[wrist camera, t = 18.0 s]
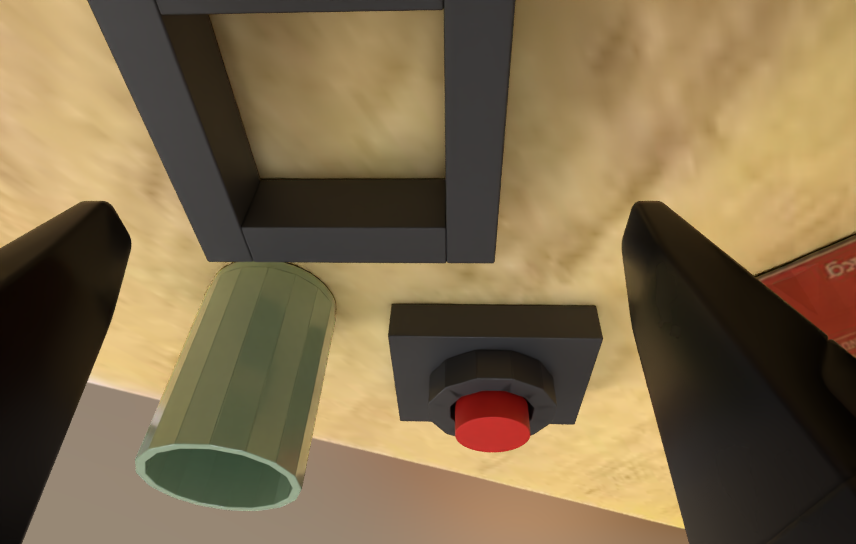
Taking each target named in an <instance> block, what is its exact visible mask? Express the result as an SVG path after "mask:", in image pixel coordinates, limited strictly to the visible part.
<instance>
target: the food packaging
mask: <svg viewBox="0 0 856 544" xmlns="http://www.w3.org/2000/svg"><path fill="white" fill-rule="evenodd" d="M756 278H757V279H758V280H760V281H761V282H762V283H763V284H765V285H766V286H767V287H768V288H770V289H771V290H772V291H773V292H775V293H776V294H777V295H778V296H779V297H781V298H782V299H783V300H784V301H786V302H787V303H788V304H789V305H791V306H792V307H793V308H794V309H796V310H797V311H798V312H799V313H801V314H802V315H803V316H804V317H806V318H807V319H808V320H809V321H811V322H812V323H813V324H814V325H815V326H817V327H818V328H819V329H820V330H822V331H823V332H824V333H825V334H827V335H828V340H829V339H833V340H834V341H836V342H837V343H838V344H839V345H841V346H842V347H843V348H844V349H846V350H847V351H848V352H849V353H851V354H852V355H853V356H854V357H856V235H854V236H852V237H850V238H847V239H845V240H843V241H840V242H838V243H836V244H833V245H831V246H828V247H826V248H824V249H821V250H819V251H816V252H814V253H811V254H809V255H807V256H805V257H803V258H800V259H798V260H796V261H794V262H792V263H790V264H788V265H785V266H783V267H780V268H778V269H775V270H773V271H770V272H767V273H765V274H762V275H760V276H757V277H756Z"/></svg>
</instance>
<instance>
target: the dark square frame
mask: <svg viewBox="0 0 856 544" xmlns="http://www.w3.org/2000/svg"><path fill="white" fill-rule="evenodd" d="M87 1H88V3H89V5H90V7H91V9H92V11H93V14H94V16H95V18H96V20H97V22H98V24H99V27H100V29H101V31H102V33H103V35H104V37H105V40H106V42H107V44H108V46H109V48H110V50H111V52H112V55H113V57H114V59H115V61H116V63H117V65H118V68H119V70H120V72H121V74H122V76H123V78H124V81H125V83H126V85H127V87H128V89H129V91H130V94H131V96H132V98H133V100H134V102H135V104H136V107H137V109H138V111H139V113H140V115H141V117H142V120H143V122H144V124H145V126H146V128H147V130H148V133H149V135H150V137H151V139H152V141H153V143H154V146H155V148H156V150H157V152H158V154H159V156H160V158H161V161H162V163H163V165H164V167H165V169H166V171H167V174H168V176H169V178H170V180H171V182H172V184H173V187H174V189H175V191H176V193H177V195H178V197H179V200H180V202H181V204H182V206H183V208H184V210H185V213H186V215H187V217H188V219H189V221H190V223H191V226H192V228H193V230H194V232H195V234H196V236H197V239H198V241H199V243H200V245H201V247H202V249H203V251H204V254H205V256H206V258H207V260H208V261H209V262H253V261H254V262H329V263H446V261H447V263H494V262H495V251H496V239H497V226H498V214H499V201H500V189H501V176H502V164H503V151H504V138H505V126H506V113H507V101H508V88H509V76H510V63H511V51H512V38H513V26H514V13H515V1H516V0H87ZM443 8H444V76H445V166H446V179H305V180H261V181H260V178H259V175H258V172H257V169H256V166H255V162H254V159H253V156H252V153H251V150H250V147H249V143H248V140H247V137H246V134H245V131H244V128H243V124H242V121H241V118H240V115H239V112H238V109H237V105H236V102H235V99H234V96H233V93H232V90H231V86H230V83H229V80H228V77H227V74H226V70H225V67H224V64H223V61H222V58H221V55H220V51H219V48H218V45H217V42H216V39H215V36H214V32H213V29H212V26H211V23H210V20H209V17H208V14H243V13H299V12H354V11H410V10H442V9H443Z"/></svg>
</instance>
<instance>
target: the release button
mask: <svg viewBox="0 0 856 544" xmlns="http://www.w3.org/2000/svg"><path fill="white" fill-rule="evenodd" d="M455 437H456V439H457V441H458V442H459V443H460V444H462V445H463V446H465V447H467V448H469V449H472V450H476V451H481V452H504V451H509V450H513V449H516V448H518V447H520V446H522V445H524V444H525V443H526V442H527V441H528V440H529V438H530V424H529V413H528V404H527V402H526V400H525V399H524V398H523V397H521V396H518V395H515V394H512V393H509V392H507V391H480V392H476V393H473V394H469V395H466V396H462V397H460V398H459V399H458V400H457V402H456V404H455Z"/></svg>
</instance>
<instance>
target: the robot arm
mask: <svg viewBox="0 0 856 544" xmlns="http://www.w3.org/2000/svg"><path fill="white" fill-rule="evenodd" d="M130 251H131V239H130V235H129V233H128V232H127V230H126V228H125V226H124V225H123V223H122V221H121V220H120V218H119V216H118V214H117V213H116V211H115V209H114V208H113V206H112V205H111V204H109V203H108V202H105V201H83V202H80V203H78V204H77V205H75V206H73V207H71V208H70V209H68V210H66V211H64V212H63V213H61V214H59V215H57V216H56V217H54V218H52V219H50V220H49V221H47V222H45V223H43V224H42V225H40V226H38V227H37V228H35V229H33V230H31V231H30V232H28V233H26V234H24V235H23V236H21V237H19V238H17V239H16V240H14V241H12V242H10V243H9V244H7V245H5V246H3V247H2V248H0V544H22V542H23V539H24V537H25V534H26V532H27V530H28V527H29V525H30V522H31V519H32V517H33V515H34V512H35V509H36V507H37V504H38V502H39V500H40V497H41V495H42V492H43V490H44V487H45V485H46V482H47V480H48V477H49V475H50V472H51V470H52V467H53V465H54V463H55V460H56V457H57V455H58V453H59V450H60V447H61V445H62V443H63V440H64V438H65V435H66V433H67V430H68V428H69V425H70V423H71V420H72V418H73V415H74V413H75V410H76V408H77V405H78V403H79V400H80V398H81V395H82V393H83V390H84V388H85V386H86V383H87V381H88V378H89V376H90V373H91V371H92V368H93V366H94V363H95V361H96V358H97V356H98V353H99V351H100V348H101V346H102V343H103V341H104V338H105V336H106V333H107V331H108V328H109V325H110V323H111V320H112V316H113V313H114V310H115V306H116V303H117V299H118V295H119V292H120V288H121V284H122V281H123V277H124V273H125V269H126V266H127V262H128V258H129V255H130ZM622 256H623V264H624V271H625V279H626V287H627V294H628V302H629V310H630V317H631V323H632V329H633V333H634V337H635V341H636V345H637V349H638V353H639V356H640V360H641V364H642V368H643V372H644V375H645V379H646V383H647V387H648V390H649V394H650V398H651V402H652V405H653V409H654V413H655V417H656V420H657V424H658V428H659V432H660V436H661V439H662V443H663V447H664V451H665V454H666V458H667V462H668V466H669V469H670V473H671V477H672V481H673V485H674V488H675V492H676V496H677V500H678V503H679V507H680V511H681V515H682V518H683V522H684V526H685V530H686V533H687V537H688V541H689V544H856V357H854V356H853V355H852V354H851V353H849V352H848V351H847V350H846V349H844V348H843V347H842V346H841V345H839V344H838V343H837V342H836V341H834V340H833V339H829V340H828V335H827V334H825V333H824V332H823V331H822V330H820V329H819V328H818V327H817V326H815V325H814V324H813V323H812V322H811V321H809V320H808V319H807V318H806V317H804V316H803V315H802V314H801V313H799V312H798V311H797V310H796V309H794V308H793V307H792V306H791V305H789V304H788V303H787V302H786V301H784V300H783V299H782V298H781V297H779V296H778V295H777V294H776V293H775V292H773V291H772V290H771V289H770V288H768V287H767V286H766V285H765V284H763V283H762V282H761V281H760V280H758V279H757V278H756V277H755V276H753V275H752V274H751V273H750V272H748V271H747V270H746V269H745V268H743V267H742V266H741V265H740V264H739V263H737V262H736V261H735V260H734V259H732V258H731V257H730V256H729V255H727V254H726V253H725V252H724V251H722V250H721V249H720V248H719V247H717V246H716V245H715V244H714V243H712V242H711V241H710V240H709V239H707V238H706V237H705V236H704V235H703V234H701V233H700V232H699V231H698V230H696V229H695V228H694V227H693V226H691V225H690V224H689V223H688V222H686V221H685V220H684V219H683V218H681V217H680V216H679V215H678V214H676V213H675V212H674V211H673V210H671V209H670V208H669V207H668V206H667V205H665V204H664V203H662V202H660V201H638V202H636V203H635V204H634V205H633V207H632V209H631V212H630V215H629V219H628V222H627V225H626V228H625V232H624V235H623V239H622Z"/></svg>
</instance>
